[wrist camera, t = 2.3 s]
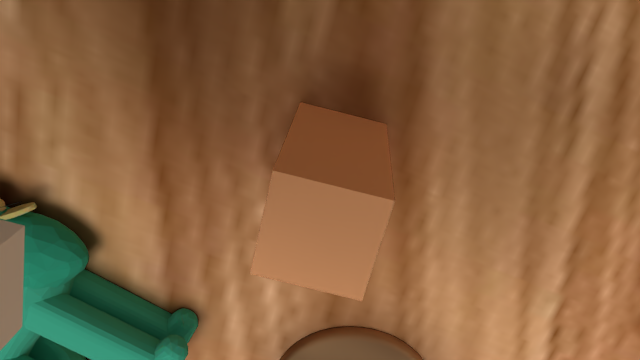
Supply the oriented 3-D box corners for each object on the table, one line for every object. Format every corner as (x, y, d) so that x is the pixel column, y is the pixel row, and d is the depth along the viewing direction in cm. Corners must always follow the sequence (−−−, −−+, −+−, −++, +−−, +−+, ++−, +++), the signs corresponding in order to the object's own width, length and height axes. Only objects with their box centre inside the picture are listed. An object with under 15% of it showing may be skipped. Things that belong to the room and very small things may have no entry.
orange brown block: (300, 102, 22) (272, 170, 15) (386, 124, 22) (395, 201, 15) (281, 180, 23) (249, 273, 17) (363, 201, 23) (362, 301, 17)
